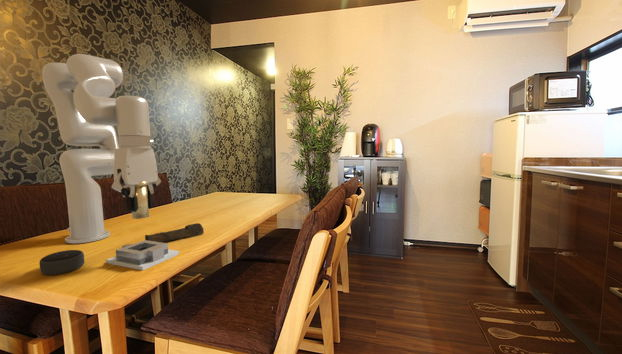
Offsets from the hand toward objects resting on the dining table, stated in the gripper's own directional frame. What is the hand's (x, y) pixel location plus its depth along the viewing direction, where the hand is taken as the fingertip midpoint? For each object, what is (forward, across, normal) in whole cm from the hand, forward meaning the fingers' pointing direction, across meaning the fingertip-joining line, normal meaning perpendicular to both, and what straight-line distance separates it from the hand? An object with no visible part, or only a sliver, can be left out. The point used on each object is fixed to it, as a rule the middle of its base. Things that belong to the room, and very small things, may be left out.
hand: (140, 208), depth 80 cm
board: (+15, -1, -1) cm, 15 cm away
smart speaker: (+15, +11, -15) cm, 24 cm away
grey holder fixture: (+14, 0, -1) cm, 14 cm away
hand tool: (+15, -18, -7) cm, 24 cm away
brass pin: (+2, 0, 0) cm, 2 cm away
